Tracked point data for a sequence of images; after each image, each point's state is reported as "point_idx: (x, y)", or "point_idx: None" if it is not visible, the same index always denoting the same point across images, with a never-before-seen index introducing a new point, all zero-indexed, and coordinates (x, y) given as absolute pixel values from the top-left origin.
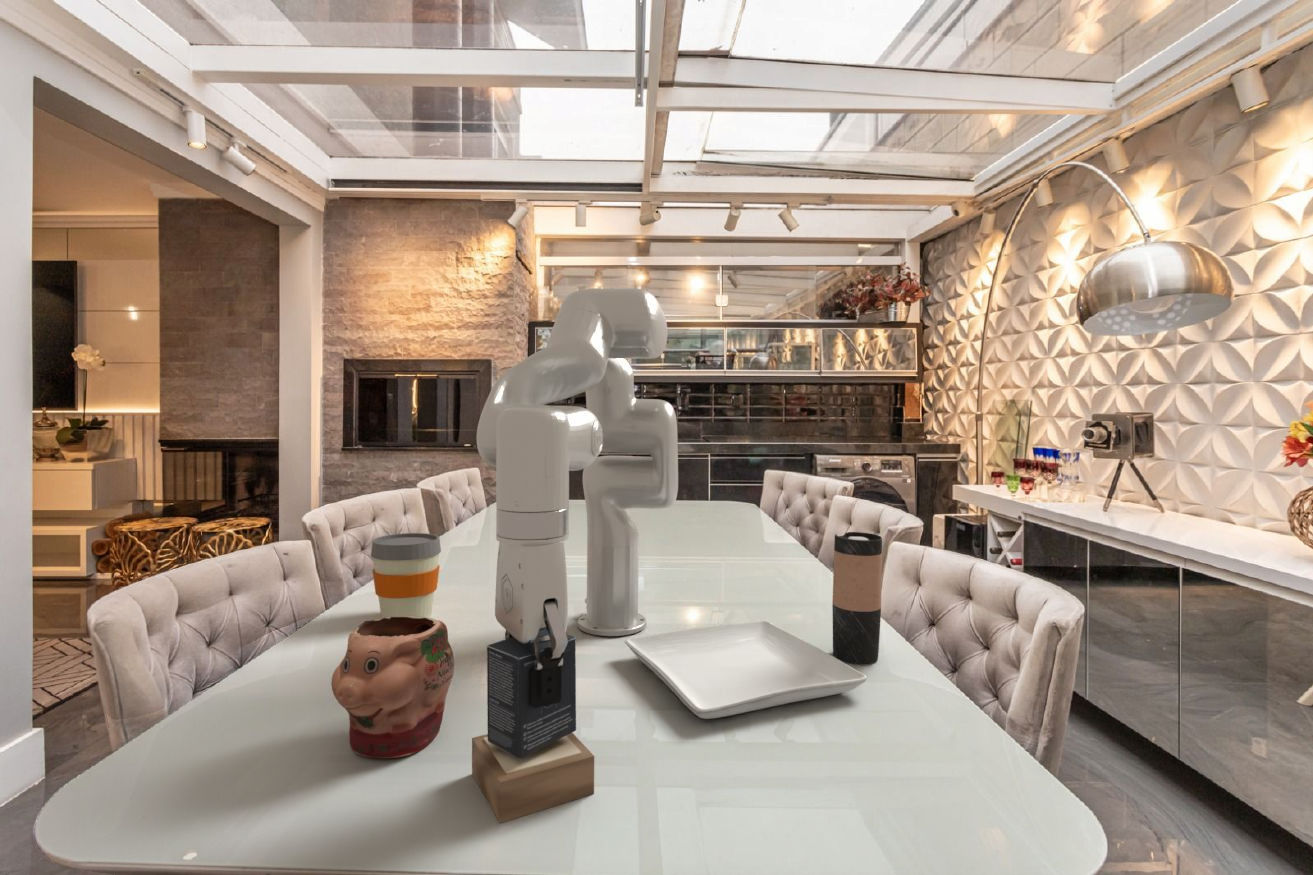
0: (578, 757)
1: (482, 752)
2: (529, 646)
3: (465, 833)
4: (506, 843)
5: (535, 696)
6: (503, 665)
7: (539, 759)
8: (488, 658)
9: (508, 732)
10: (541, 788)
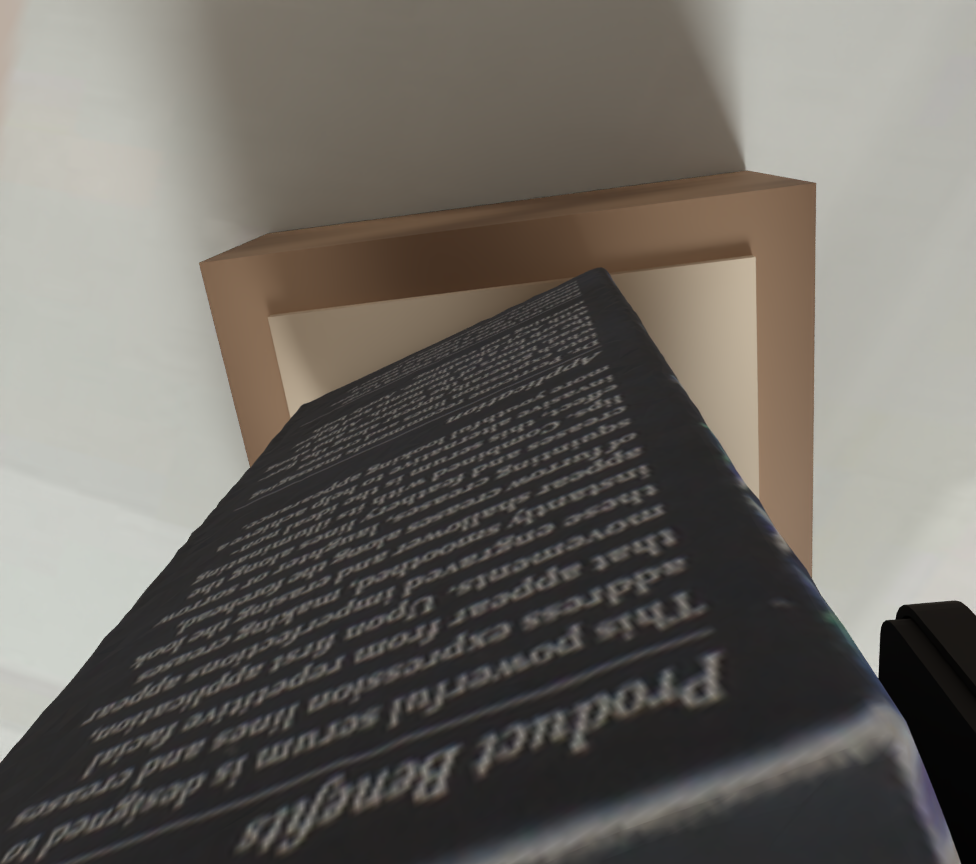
0: None
1: (588, 220)
2: None
3: (240, 64)
4: (121, 234)
5: None
6: (234, 738)
7: None
8: (716, 564)
9: (357, 406)
10: None
